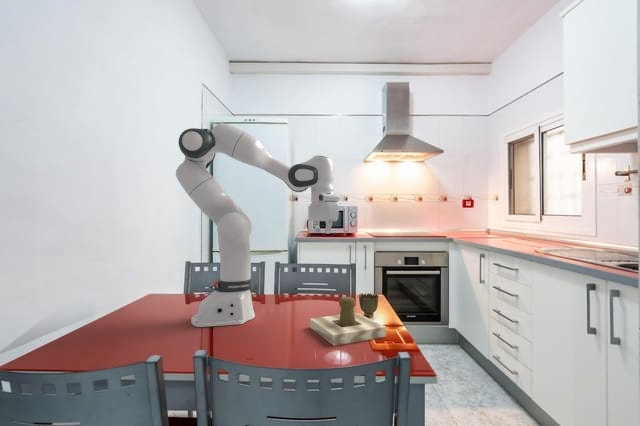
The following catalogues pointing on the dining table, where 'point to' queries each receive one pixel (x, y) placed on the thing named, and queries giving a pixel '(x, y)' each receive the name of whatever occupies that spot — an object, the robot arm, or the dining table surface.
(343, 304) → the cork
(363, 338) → the socket board
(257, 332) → the dining table surface
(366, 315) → the cup
